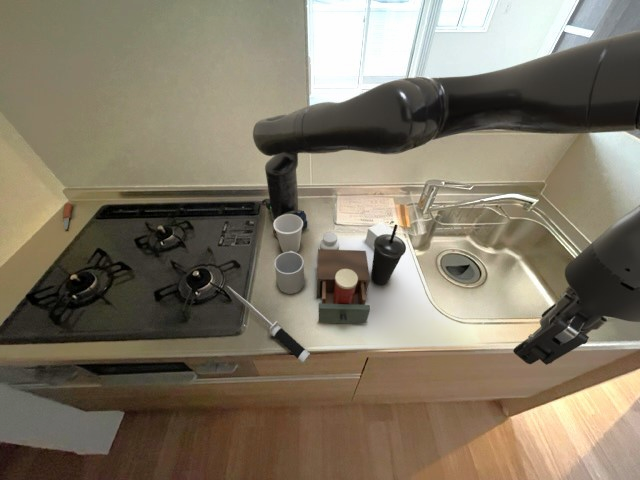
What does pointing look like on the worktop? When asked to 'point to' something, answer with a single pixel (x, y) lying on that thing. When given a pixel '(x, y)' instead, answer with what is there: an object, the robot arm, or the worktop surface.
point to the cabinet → (341, 266)
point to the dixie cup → (288, 232)
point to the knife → (278, 333)
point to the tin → (344, 286)
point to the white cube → (377, 233)
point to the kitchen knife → (67, 214)
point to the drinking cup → (386, 256)
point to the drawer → (343, 306)
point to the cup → (289, 272)
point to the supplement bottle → (329, 241)
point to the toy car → (299, 214)
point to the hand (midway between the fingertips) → (535, 337)
